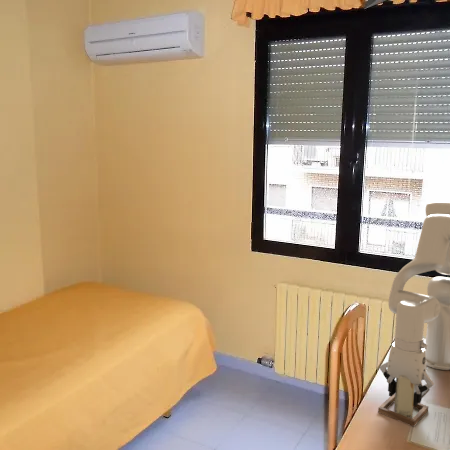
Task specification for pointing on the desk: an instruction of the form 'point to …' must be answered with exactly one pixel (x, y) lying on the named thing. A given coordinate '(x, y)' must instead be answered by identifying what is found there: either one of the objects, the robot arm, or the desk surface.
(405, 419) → the square wooden frame
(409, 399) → the skincare box
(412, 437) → the desk surface
